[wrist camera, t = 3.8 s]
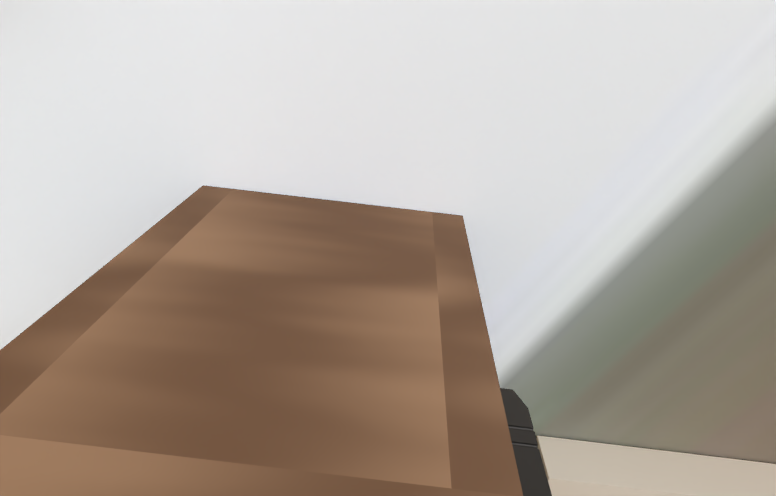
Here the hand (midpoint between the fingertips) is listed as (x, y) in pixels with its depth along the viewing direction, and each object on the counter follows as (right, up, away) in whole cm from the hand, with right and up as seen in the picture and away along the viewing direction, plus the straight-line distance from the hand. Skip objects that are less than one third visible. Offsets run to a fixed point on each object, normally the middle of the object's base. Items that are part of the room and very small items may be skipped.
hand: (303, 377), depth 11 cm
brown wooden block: (0, +1, +2) cm, 3 cm away
